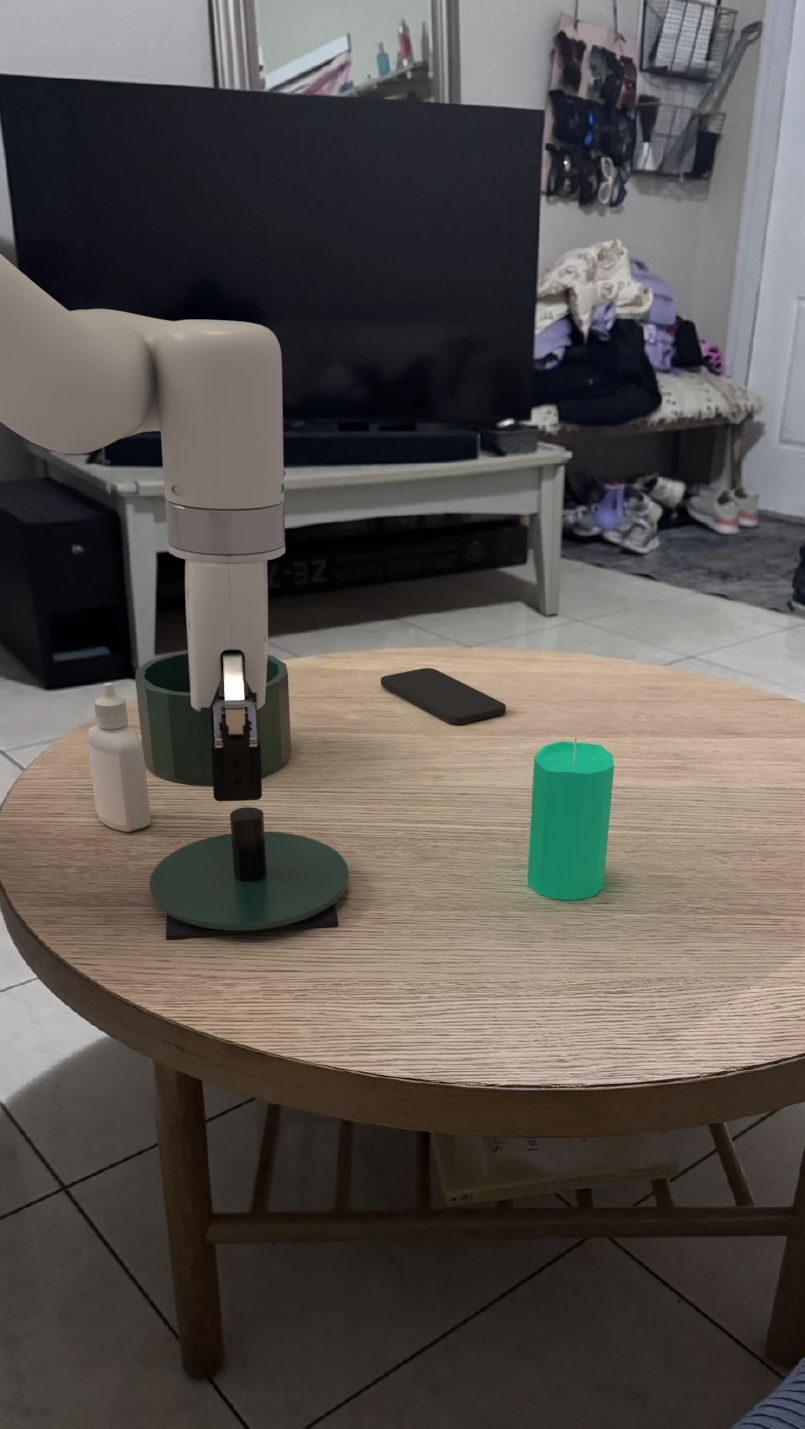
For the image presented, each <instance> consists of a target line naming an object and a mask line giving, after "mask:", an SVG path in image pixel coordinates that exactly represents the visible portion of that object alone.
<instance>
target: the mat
mask: <svg viewBox="0 0 805 1429" xmlns="http://www.w3.org/2000/svg"><path fill="white" fill-rule="evenodd" d="M338 918H339V917H338V912H337V908H336V902H335V903H334V904H332V905H331V906H330V907H328V908H327V909H325V910H323V911H322V912H320V913H318V914H316V915H314V916H311V917H309V918H307V919H304V920H301V921H298V922H295V923H291V924H287V925H283V926H278V927H273V928H266V929H258V930H220V929H211V928H205V927H200V926H196V925H192V924H188V923H186V922H183V921H180V920H178V919H176V918H174V917H172V916H170V915H168V914H167V913H166V924H165V939H166V940H167V941H168V940H179V939H180V940H181V939H192V938H194V939H195V938H204V937H216V936H217V937H219V936H229V935H231V936H232V935H244V934H255V933H257V934H258V933H268V932H280V931H281V932H283V931H293V930H294V931H295V930H306V929H307V930H308V929H318V928H319V929H320V928H332V927H339V919H338Z"/></svg>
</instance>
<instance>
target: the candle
mask: <svg viewBox="0 0 805 1429" xmlns="http://www.w3.org/2000/svg"><path fill="white" fill-rule="evenodd" d="M614 772H615V762H614V758H613V755H612V753H610V752H609V751H608V750H607V749H606V748H605V747H603V745H601V744H597V743H587V742H577V737H576V736H575V737H574V741H558V742H557V741H556V742H552V743H549V744H546V745H543V746H542V747H541V748H540V749H539V750H538V752H537V753H535V755H534V756H533V771H532V789H531V804H530V807H531V808H530V822H529V841H528V856H527V857H528V860H527V874H526V876H527V886H528V887H529V888H531V889H532V890H533V891H535V893H536V894H538V895H541V896H544V897H547V898H550V899H552V900H556V901H580V900H584V899H589V898H592V897H595V896H596V895H597V894H598V893H600V892H601V890H602V889H604V882H605V872H606V864H607V863H606V862H607V861H606V860H607V850H608V842H609V841H608V839H609V829H610V828H609V827H610V818H611V806H612V795H613V785H614V784H613V783H614Z"/></svg>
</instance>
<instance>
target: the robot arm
mask: <svg viewBox="0 0 805 1429" xmlns="http://www.w3.org/2000/svg"><path fill="white" fill-rule="evenodd" d="M283 406H284V405H283V361H282V349H281V345H280V342H279V340H278V337H277V336H276V334H275V333H274V332H273V331H272V330H271V329H270V328H268V327H266V326H264V325H262V324H258V323H253V322H249V321H248V322H247V321H241V320H240V321H238V320H224V319H223V320H221V319H180V320H167V319H161V318H155V317H151V316H145V315H141V314H137V313H131V312H127V311H121V310H116V309H110V308H109V309H107V308H91V309H74V310H68V309H67V308H66V307H64V306H63V305H62V304H61V303H59V302H58V301H57V300H56V299H54V298H53V297H52V296H51V295H50V294H49V293H47V292H46V291H45V290H43V289H42V288H41V287H40V286H39V285H38V284H36V283H35V282H34V281H33V280H31V279H30V278H29V277H28V276H27V275H26V274H25V273H24V272H22V271H21V270H20V269H19V268H17V267H16V266H15V265H14V264H13V263H11V262H10V261H9V260H8V259H7V258H6V257H5V256H4V255H2V254H1V253H0V423H1V424H3V425H4V426H5V427H6V428H8V429H9V430H11V431H13V432H14V433H16V434H17V435H19V436H20V437H22V438H23V439H25V440H27V441H29V442H30V443H33V444H35V445H37V446H40V447H42V448H44V449H46V450H49V451H53V452H58V453H61V454H69V455H82V454H87V453H88V454H89V453H92V452H95V451H97V450H99V449H103V448H105V447H107V446H109V445H111V444H112V443H115V442H116V441H118V440H121V439H125V438H127V437H131V436H135V435H138V434H140V433H150V432H160V440H161V453H162V454H161V456H162V471H163V488H164V489H163V490H164V501H165V515H166V516H165V517H166V519H165V520H166V532H167V534H166V536H167V551H168V553H169V554H170V555H172V556H174V557H175V558H179V559H182V560H185V561H184V562H185V563H184V594H185V597H184V599H185V600H184V601H185V619H186V620H185V621H186V637H187V639H186V640H187V651H188V657H189V674H190V691H191V706H192V707H193V708H194V709H195V710H197V711H201V708H210V706H211V724H212V742H213V744H211V752H212V772H213V785H212V790H213V799H214V800H215V801H216V802H241V801H242V802H243V801H244V802H245V801H258V800H260V799H262V797H263V784H262V783H263V780H262V778H263V777H261V745H260V742H257V729H256V710H258V709H259V708H261V707H262V706H263V705H264V704H265V692H266V676H267V655H269V654H268V653H269V652H268V650H269V601H268V600H269V595H268V593H269V591H268V590H269V589H268V588H269V587H268V586H269V584H268V581H269V580H268V561H270V560H275V559H277V558H280V557H282V556H283V555H284V554H285V553H286V523H285V522H286V521H285V520H286V519H285V518H286V517H285V514H286V513H285V472H284V470H285V469H284V466H285V465H284V414H283V413H284V412H283V411H284V410H283V408H284V407H283ZM248 691H249V693H248ZM218 692H219V693H218Z"/></svg>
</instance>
